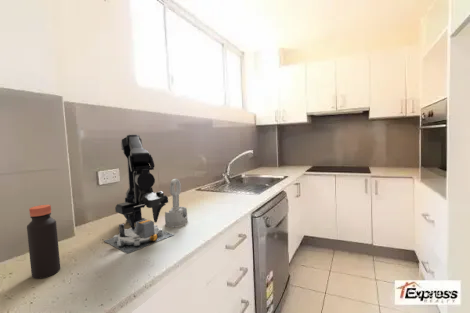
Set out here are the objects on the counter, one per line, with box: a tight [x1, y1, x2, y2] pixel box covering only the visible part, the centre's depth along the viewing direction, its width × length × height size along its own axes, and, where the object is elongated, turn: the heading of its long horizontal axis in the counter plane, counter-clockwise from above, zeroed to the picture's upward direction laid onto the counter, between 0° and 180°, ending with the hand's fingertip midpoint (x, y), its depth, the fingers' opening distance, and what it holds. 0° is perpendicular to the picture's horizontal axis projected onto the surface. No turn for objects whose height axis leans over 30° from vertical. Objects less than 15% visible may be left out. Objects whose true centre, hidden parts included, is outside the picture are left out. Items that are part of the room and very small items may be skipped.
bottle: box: [26, 204, 61, 280], centre depth 71 cm, size 7×7×20 cm
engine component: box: [164, 178, 189, 228], centre depth 112 cm, size 11×20×10 cm
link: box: [135, 218, 155, 238], centre depth 92 cm, size 6×4×5 cm, turn 51°
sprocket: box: [113, 223, 163, 246], centre depth 96 cm, size 18×18×6 cm
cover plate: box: [103, 230, 174, 254], centre depth 96 cm, size 19×19×1 cm
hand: (144, 225), depth 92 cm, fingers open, 9 cm apart
